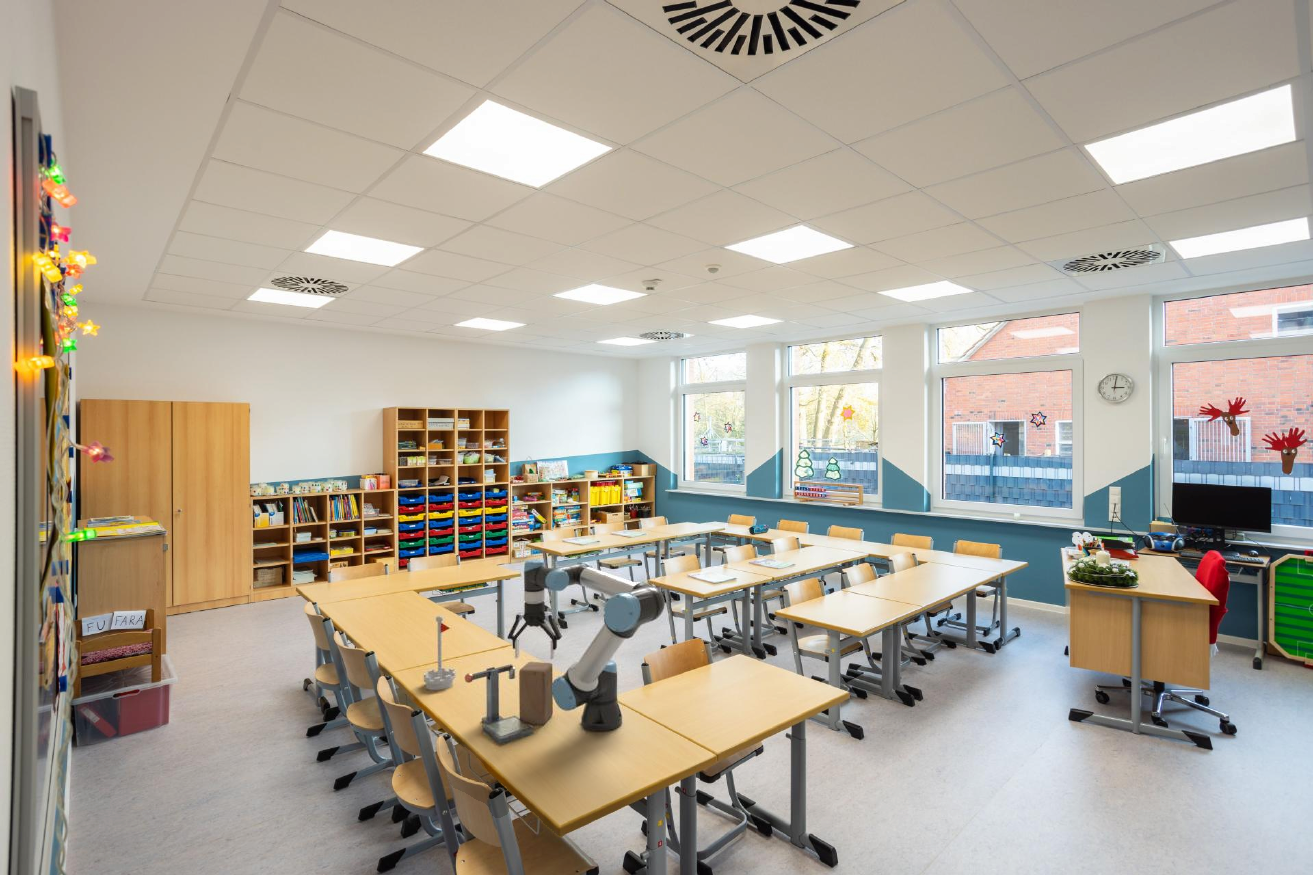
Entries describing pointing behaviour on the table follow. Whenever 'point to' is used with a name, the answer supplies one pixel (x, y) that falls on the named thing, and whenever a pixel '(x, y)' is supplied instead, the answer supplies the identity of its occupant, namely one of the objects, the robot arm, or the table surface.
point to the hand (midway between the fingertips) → (534, 657)
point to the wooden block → (536, 692)
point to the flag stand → (439, 666)
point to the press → (495, 724)
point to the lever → (471, 677)
